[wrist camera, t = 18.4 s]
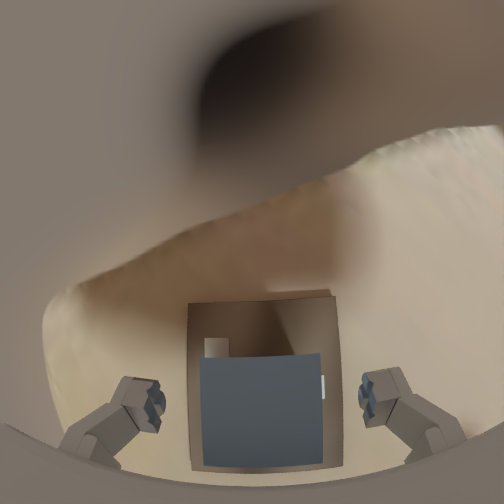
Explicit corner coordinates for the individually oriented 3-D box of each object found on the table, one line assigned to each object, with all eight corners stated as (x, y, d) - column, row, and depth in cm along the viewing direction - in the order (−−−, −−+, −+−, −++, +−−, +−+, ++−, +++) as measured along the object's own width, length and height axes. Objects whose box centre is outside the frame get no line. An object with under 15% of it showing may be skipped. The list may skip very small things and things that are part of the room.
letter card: (333, 298, 19) (335, 296, 18) (340, 463, 14) (343, 466, 14) (190, 305, 20) (187, 303, 19) (194, 467, 15) (191, 470, 14)
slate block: (297, 359, 17) (320, 352, 9) (299, 418, 16) (322, 463, 7) (234, 361, 17) (199, 357, 9) (236, 421, 16) (203, 465, 7)
